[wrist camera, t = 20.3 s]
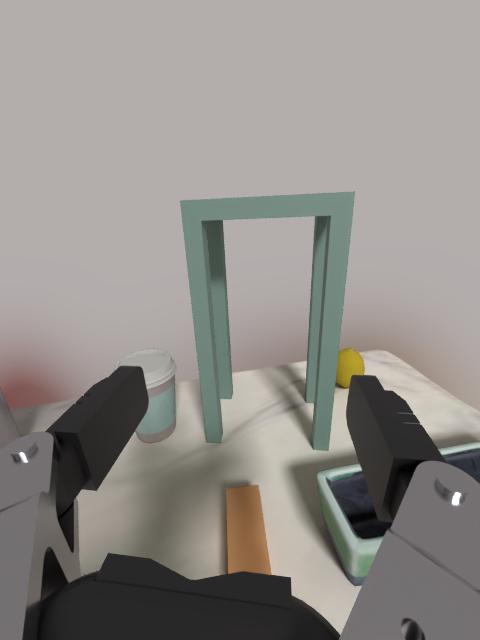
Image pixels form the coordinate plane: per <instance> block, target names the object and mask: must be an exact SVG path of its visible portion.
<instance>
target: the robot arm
mask: <svg viewBox="0 0 480 640" xmlns="http://www.w3.org/2000/svg"><path fill="white" fill-rule="evenodd" d="M148 405H149V398H148V392H147V387H146V382H145V377H144V372H143V369H142V367H140V366H119V367H118V368H117V369H116V370H115V371H114V372H113V373H112V374H111V375H110V376H109V377H108V378H105V379H103V380H101V381H100V382H98V383H96V384H95V385H93V386H92V387H91V388H90V389H89V390H88V391H87V392H86V393H85V394H84V396H82V397H81V398H80V399H79V400H78V401H76V404H73V405H72V406H71V407H70V408H69V409H68V410H67V411H66V412H65V413H64V414H63V415H62V416H61V417H60V418H59V419H58V420H57V421H56V422H55V423H53V424H52V425H51V426H50V427H49V428H48V429H47V430H46V431H45V432H35V433H31V434H28V435H25V436H22V437H21V436H20V433H19V431H18V429H17V426H16V424H15V421H14V419H13V416H12V414H11V412H10V409H9V407H8V405H7V402H6V400H5V398H4V395H3V393H2V391H1V388H0V640H480V484H479V483H478V482H477V481H476V480H475V479H474V478H472V477H471V476H470V475H468V474H467V473H465V472H464V471H462V470H460V469H458V468H457V467H454V466H452V465H450V464H448V463H447V462H446V460H445V459H444V457H443V456H442V454H441V453H440V451H439V450H438V448H437V447H436V446H435V444H434V443H433V441H432V440H431V438H430V437H429V435H428V434H427V432H426V431H425V429H424V428H423V426H422V425H420V422H419V420H418V419H417V417H416V416H415V415H413V411H412V410H411V408H410V407H409V405H408V404H407V402H406V401H405V400H404V399H402V398H401V397H400V396H398V395H397V394H396V393H395V392H393V391H387V390H384V389H383V387H382V385H381V384H380V382H379V380H378V379H377V377H376V376H371V375H352V376H351V380H350V387H349V394H348V401H347V409H346V419H347V426H348V429H349V432H350V435H351V438H352V441H353V444H354V448H355V451H356V454H357V457H358V460H359V463H360V466H361V469H362V472H363V475H364V478H365V481H366V484H367V487H368V490H369V493H370V496H371V499H372V503H373V506H374V509H375V512H376V515H377V518H378V521H383V522H393V524H392V526H391V528H388V529H387V531H386V533H385V535H384V537H383V539H382V542H381V544H380V546H379V549H378V551H377V553H376V555H375V558H374V560H373V562H372V565H371V567H370V569H369V572H368V574H367V576H366V578H365V581H364V583H363V585H362V588H361V590H360V592H359V595H358V597H357V599H356V601H355V604H354V606H353V608H352V611H351V613H350V615H349V618H348V620H347V622H346V624H345V627H344V629H343V631H342V634H341V636H340V634H339V633H338V632H337V631H336V630H335V628H334V627H333V626H332V625H331V624H330V623H329V622H328V621H327V620H326V619H325V618H324V617H323V616H322V615H321V614H319V613H318V612H317V611H316V610H315V609H314V608H312V607H311V606H309V605H308V604H306V603H305V602H303V601H302V600H300V599H298V598H296V597H294V596H292V595H291V577H283V576H276V575H268V574H261V573H253V572H246V571H241V572H236V573H230V574H225V575H220V576H215V577H209V578H204V579H199V580H190V579H187V578H185V577H184V576H182V575H180V574H178V573H176V572H174V571H172V570H170V569H169V568H167V567H165V566H163V565H161V564H159V563H157V562H155V561H154V560H152V559H149V558H141V557H134V556H126V555H119V554H111V553H108V555H107V557H106V559H105V561H104V563H103V565H102V567H101V569H100V571H96V572H93V573H90V574H87V575H84V576H82V575H81V570H80V563H79V527H78V501H77V499H76V496H77V495H78V494H79V492H80V491H81V489H85V490H95V491H97V489H98V488H99V486H100V485H101V483H102V481H103V480H104V478H105V477H106V475H107V474H108V472H109V471H110V469H111V467H112V466H113V464H114V463H115V461H116V460H117V458H118V456H119V455H120V453H121V452H122V450H123V449H124V447H125V446H126V444H127V442H128V441H129V439H130V438H131V436H132V435H133V433H134V432H135V430H136V428H137V427H138V425H139V424H140V422H141V421H142V419H143V418H144V416H145V414H146V412H147V410H148Z"/></svg>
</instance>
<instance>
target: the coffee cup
mask: <svg viewBox="0 0 480 640" xmlns="http://www.w3.org/2000/svg"><path fill="white" fill-rule="evenodd" d="M119 366H140V367H142V369H143V372H144V377H145V382H146V387H147V392H148V398H149V405H148V410H147V412H146V414H145V416H144V418H143V419H142V421H141V422H140V424H139V425H138V427H137V428H136V430H135V432H136V434H137V436H138V438H139V439H140V440H141V441H143V442H147V443H154V442H158V441H161V440H163V439H165V438H167V437H168V436H169V435H171V433H172V432H173V431H174V429H175V425H176V421H175V372H176V365H175V362H174V360H173V359H172V357H171V355H170V354H169V353H168V352H167V351H165V350H161V349H146V350H140V351H136V352H133V353H130V354H128V355H126V356H125V357H123V358H121V359H120V360H119V361H118V362H117V363H116V365H115V370H116V369H117V368H118V367H119Z"/></svg>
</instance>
